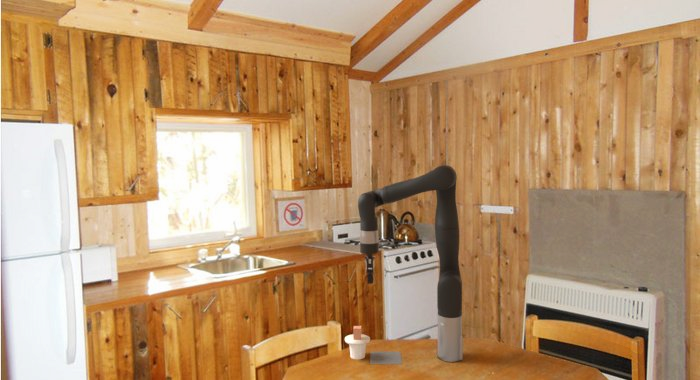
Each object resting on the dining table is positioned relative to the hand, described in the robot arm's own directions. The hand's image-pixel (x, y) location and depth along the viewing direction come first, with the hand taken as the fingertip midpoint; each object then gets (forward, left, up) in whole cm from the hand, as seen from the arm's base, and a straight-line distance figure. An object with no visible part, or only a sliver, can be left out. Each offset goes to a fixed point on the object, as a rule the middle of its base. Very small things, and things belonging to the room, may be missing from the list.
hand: (370, 280), depth 205 cm
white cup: (+5, +9, -29) cm, 30 cm away
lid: (+5, +9, -22) cm, 24 cm away
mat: (-6, +10, -28) cm, 31 cm away
